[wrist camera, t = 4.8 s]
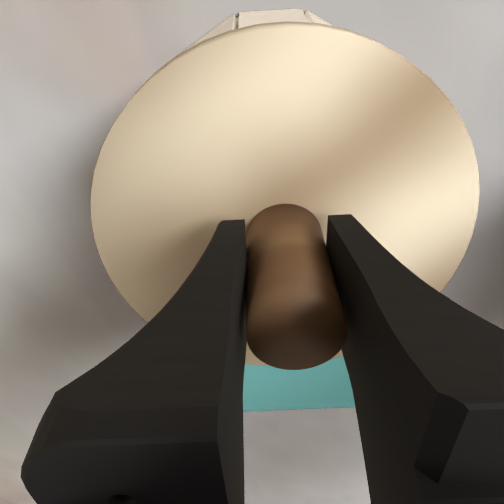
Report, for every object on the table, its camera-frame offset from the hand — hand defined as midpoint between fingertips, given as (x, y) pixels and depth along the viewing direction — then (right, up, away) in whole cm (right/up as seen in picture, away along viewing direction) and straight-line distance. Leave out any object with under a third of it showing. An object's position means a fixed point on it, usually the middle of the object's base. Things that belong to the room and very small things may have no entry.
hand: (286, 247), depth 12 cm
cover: (0, +1, +2) cm, 2 cm away
